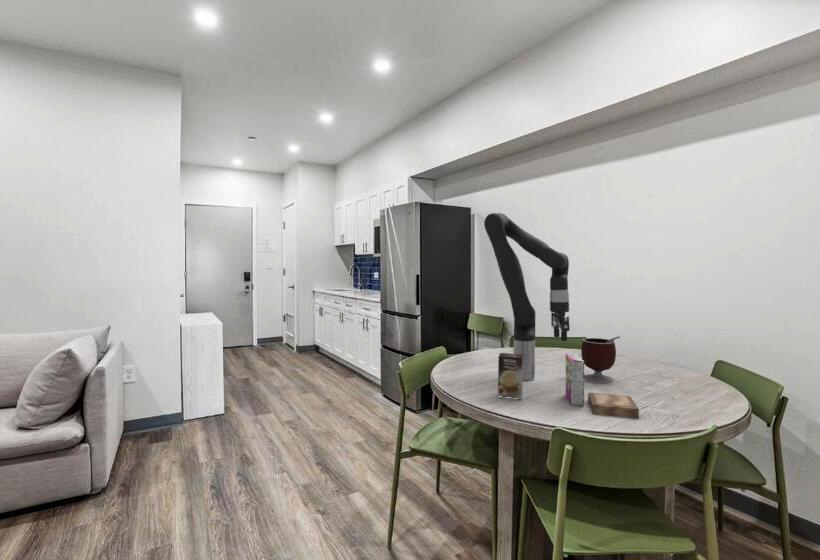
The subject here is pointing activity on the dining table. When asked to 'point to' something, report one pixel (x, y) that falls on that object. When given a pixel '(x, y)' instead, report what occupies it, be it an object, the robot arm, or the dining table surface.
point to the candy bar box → (575, 379)
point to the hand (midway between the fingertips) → (560, 339)
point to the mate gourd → (598, 357)
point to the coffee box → (510, 375)
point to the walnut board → (613, 405)
